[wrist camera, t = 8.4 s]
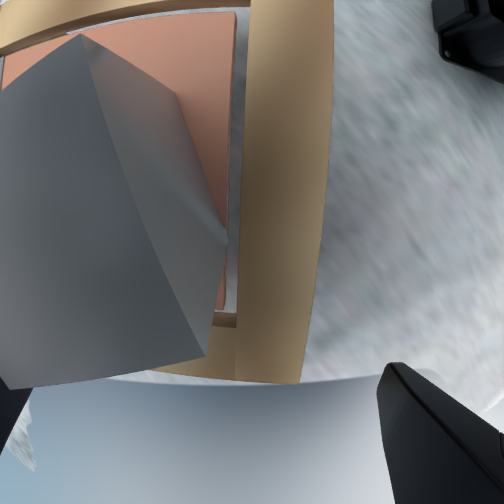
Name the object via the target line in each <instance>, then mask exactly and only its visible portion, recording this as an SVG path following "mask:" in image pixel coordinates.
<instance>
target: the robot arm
mask: <svg viewBox="0 0 504 504" xmlns="http://www.w3.org/2000/svg"><path fill="white" fill-rule="evenodd" d="M432 1H433V9H434V18H435V28H436V29H437V31H438V37H439V53H440V56H441V58H442V59H443V60H444V61H446V62H449V63H452V64H455V65H458V66H461V67H463V68H466V69H469V70H471V71H474V72H476V73H479V74H481V75H484V76H486V77H489V78H491V79H493V80H495V81H498V82H500V83H502V84H504V0H432ZM445 51H446V52H447V53H448V54H449V57H447V56H446V55H445ZM32 390H33V388H23V389H12V390H10V389H9V388H8V387H7V385H6V384H5V382H4V381H3V380H2V378H1V377H0V455H1V452H2V450H3V448H4V446H5V444H6V442H7V440H8V437H9V435H10V433H11V431H12V429H13V427H14V425H15V423H16V421H17V419H18V417H19V415H20V413H21V411H22V409H23V408H24V406H25V404H26V402H27V400H28V398H29V396H30V394H31V392H32ZM377 402H378V409H379V417H380V426H381V434H382V442H383V447H384V452H385V457H386V461H387V466H388V470H389V475H390V480H391V484H392V490H393V495H394V500H395V504H504V434H503V433H501V432H500V433H499V430H497V429H496V428H494V427H493V426H492V425H490V424H489V423H487V422H486V421H485V420H483V419H481V418H480V417H479V416H478V415H476V414H475V413H473V412H472V411H471V410H469V409H468V408H466V407H465V406H464V405H462V404H461V403H459V402H458V401H457V400H455V399H454V398H452V397H451V396H449V395H448V394H447V393H445V392H444V391H442V390H441V389H440V388H438V387H437V386H435V385H434V384H433V383H431V382H430V381H428V380H427V379H426V378H424V377H423V376H421V375H420V374H419V373H417V372H416V371H414V370H413V369H412V368H410V367H409V366H407V365H406V364H405V363H403V362H390V363H388V364H387V365H386V367H385V369H384V371H383V374H382V377H381V379H380V382H379V384H378V387H377Z"/></svg>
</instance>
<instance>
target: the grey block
mask: <svg viewBox="0 0 504 504" xmlns="http://www.w3.org/2000/svg"><path fill="white" fill-rule="evenodd" d="M228 242H229V239H228V236H227V234H226V231H225V228H224V226H223V223H222V220H221V218H220V215H219V212H218V210H217V207H216V204H215V201H214V199H213V196H212V193H211V191H210V188H209V185H208V182H207V180H206V177H205V174H204V171H203V169H202V166H201V163H200V160H199V158H198V155H197V152H196V149H195V147H194V144H193V141H192V138H191V136H190V133H189V130H188V127H187V124H186V122H185V119H184V116H183V113H182V110H181V108H180V105H179V102H178V99H177V96H176V93H175V92H174V91H172V90H171V89H169V88H168V87H166V86H165V85H163V84H162V83H161V82H159V81H158V80H156V79H154V78H153V77H151V76H150V75H148V74H147V73H145V72H144V71H142V70H141V69H139V68H138V67H136V66H134V65H133V64H131V63H130V62H128V61H126V60H125V59H123V58H122V57H120V56H118V55H117V54H115V53H114V52H112V51H110V50H109V49H107V48H105V47H104V46H102V45H100V44H99V43H97V42H95V41H93V40H92V39H90V38H88V37H87V36H85V35H83V34H81V33H80V34H78V35H77V36H75V37H73V38H72V39H70V40H69V41H67V42H65V43H64V44H62V45H61V46H59V47H58V48H56V49H55V50H53V51H52V52H50V53H49V54H48V55H46V56H45V57H43V58H42V59H41V60H39V61H38V62H36V63H35V64H34V65H32V66H31V67H30V68H29V69H27V70H26V71H25V72H23V73H22V74H21V75H20V76H18V77H17V78H16V79H15V80H13V81H12V82H11V83H10V84H9V85H7V86H6V87H5V88H4V89H3V90H2V91H0V377H1V378H2V380H3V381H4V382H5V384H6V385H7V387H8V388H9V389H10V390H12V389H23V388H33V387H41V386H50V385H58V384H66V383H73V382H80V381H87V380H93V379H99V378H105V377H111V376H117V375H122V374H128V373H133V372H138V371H144V370H149V369H154V368H158V367H163V366H168V365H172V364H177V363H181V362H186V361H190V360H194V359H199V358H203V357H206V352H207V347H208V341H209V336H210V331H211V326H212V321H213V315H214V310H215V305H216V300H217V295H218V290H219V285H220V280H221V275H222V271H223V266H224V261H225V256H226V251H227V246H228Z"/></svg>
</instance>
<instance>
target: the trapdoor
mask: <svg viewBox="0 0 504 504" xmlns="http://www.w3.org/2000/svg"><path fill="white" fill-rule="evenodd" d="M236 28H237V18H236V14H235V12H207V13H190V14H178V15H168V16H159V17H151V18H144V19H138V20H132V21H126V22H120V23H115V24H110V25H105V26H101V27H96V28H92V29H88V30H84V31H80V32H76V33H73V34H69V35H66V36H62V37H59V38H56V39H52V40H49V41H46V42H43V43H40V44H37V45H34V46H32V47H29V48H26V49H24V50H21V51H18V52H16V53H13V54H11V55H8V56H6V57H1V58H0V91H2V90H3V89H4V88H5V87H6V86H7V85H9V84H10V83H11V82H12V81H13V80H15V79H16V78H17V77H18V76H20V75H21V74H22V73H23V72H25V71H26V70H27V69H29V68H30V67H31V66H32V65H34V64H35V63H36V62H38V61H39V60H41V59H42V58H43V57H45V56H46V55H48V54H49V53H50V52H52V51H53V50H55V49H56V48H58V47H59V46H61V45H62V44H64V43H65V42H67V41H69V40H70V39H72V38H73V37H75V36H77V35H78V34H80V33H81V34H83V35H85V36H87V37H88V38H90V39H92V40H93V41H95V42H97V43H99V44H100V45H102V46H104V47H105V48H107V49H109V50H110V51H112V52H114V53H115V54H117V55H118V56H120V57H122V58H123V59H125V60H126V61H128V62H130V63H131V64H133V65H134V66H136V67H138V68H139V69H141V70H142V71H144V72H145V73H147V74H148V75H150V76H151V77H153V78H154V79H156V80H158V81H159V82H161V83H162V84H163V85H165V86H166V87H168V88H169V89H171V90H172V91H174V92H175V93H176V96H177V99H178V102H179V105H180V108H181V110H182V113H183V116H184V119H185V122H186V124H187V127H188V130H189V133H190V136H191V138H192V141H193V144H194V147H195V149H196V152H197V155H198V158H199V160H200V163H201V166H202V169H203V171H204V174H205V177H206V180H207V182H208V185H209V188H210V191H211V193H212V196H213V199H214V201H215V204H216V207H217V210H218V212H219V215H220V218H221V220H222V223H223V226H224V228H225V231H226V234H227V220H228V188H229V161H230V137H231V115H232V95H233V77H234V60H235V43H236ZM226 261H227V251H226V256H225V261H224V266H223V271H222V275H221V280H220V285H219V290H218V295H217V300H216V305H215V309H217V310H224V305H225V301H226Z"/></svg>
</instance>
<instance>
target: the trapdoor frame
mask: <svg viewBox="0 0 504 504" xmlns="http://www.w3.org/2000/svg"><path fill="white" fill-rule="evenodd" d="M218 7H250V22H249V39H248V56H247V75H246V94H245V113H244V134H243V156H242V179H241V203H240V228H239V256H238V285H237V314H235V313H223V312H214V315H213V321H212V326H211V331H210V336H209V341H208V347H207V352H206V357H203V358H199V359H194V360H190V361H186V362H181V363H177V364H172V365H168V366H163V367H158V368H154V369H149V370H153V371H159V372H166V373H173V374H180V375H187V376H195V377H204V378H213V379H222V380H233V381H245V382H260V383H278V384H299V382H300V376H301V371H302V365H303V360H304V354H305V348H306V342H307V336H308V330H309V324H310V317H311V311H312V304H313V297H314V290H315V283H316V275H317V268H318V260H319V252H320V243H321V235H322V226H323V216H324V206H325V196H326V185H327V174H328V161H329V147H330V132H331V114H332V92H333V59H334V0H9V1H8V2H6V3H4V4H2V5H0V58H1V57H6V56H8V55H11V54H13V53H16V52H18V51H21V50H24V49H26V48H29V47H32V46H34V45H37V44H40V43H43V42H46V41H49V40H52V39H56V38H59V37H62V36H66V35H69V34H66V33H67V32H70V31H73V30H77V29H81V28H84V27H88V26H92V25H96V24H100V23H104V22H109V21H113V20H118V19H123V18H128V17H134V16H140V15H146V14H152V13H159V12H167V11H176V10H186V9H199V8H218Z"/></svg>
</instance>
